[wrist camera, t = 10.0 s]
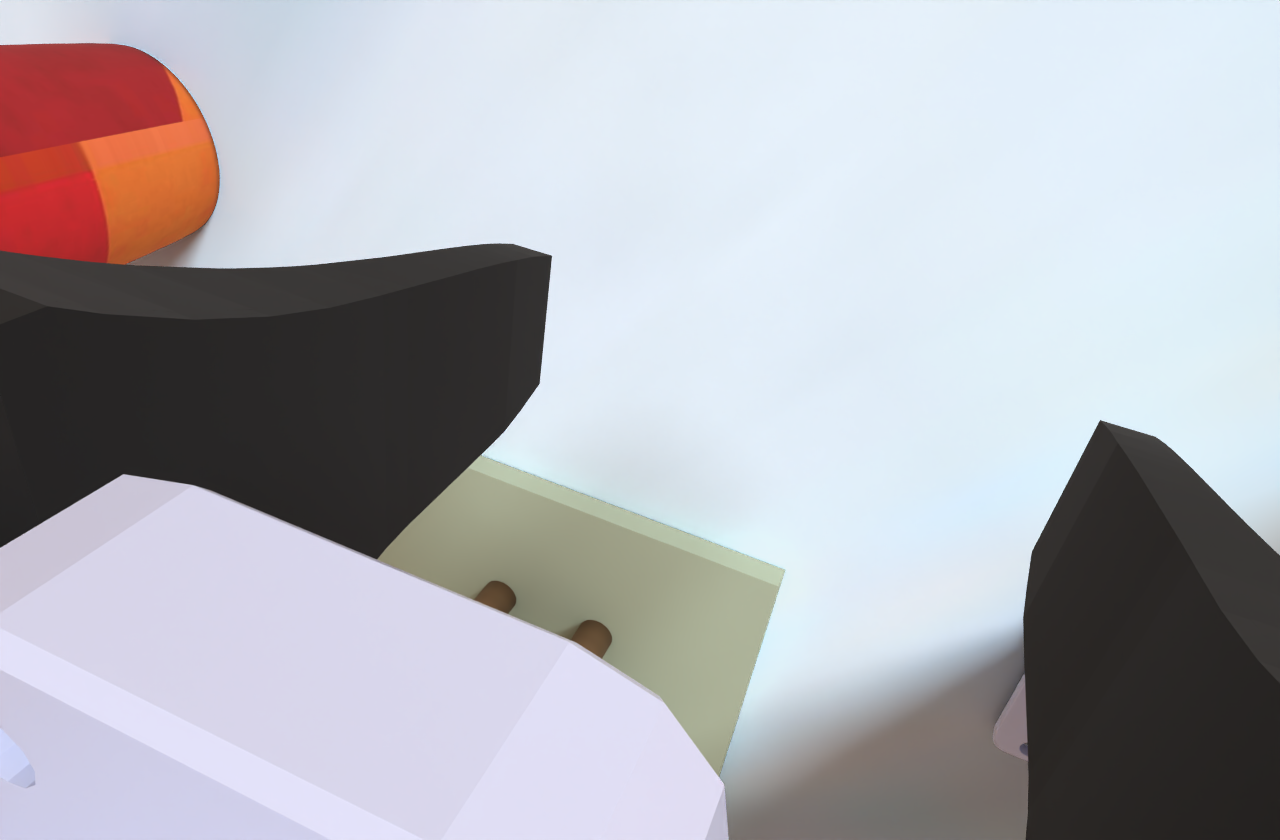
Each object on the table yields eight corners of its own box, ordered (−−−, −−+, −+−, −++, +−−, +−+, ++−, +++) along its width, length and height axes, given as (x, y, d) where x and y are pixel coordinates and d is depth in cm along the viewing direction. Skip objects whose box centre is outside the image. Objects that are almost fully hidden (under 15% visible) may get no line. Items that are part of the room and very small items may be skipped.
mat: (785, 570, 26) (778, 586, 25) (688, 871, 34) (682, 889, 33) (386, 420, 29) (371, 431, 28) (389, 727, 37) (378, 741, 37)
